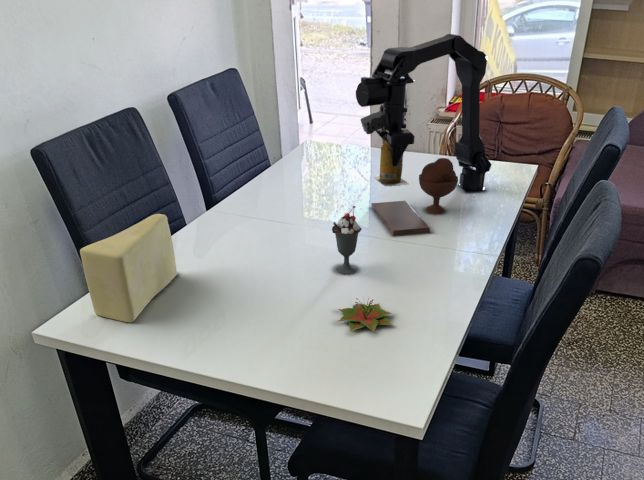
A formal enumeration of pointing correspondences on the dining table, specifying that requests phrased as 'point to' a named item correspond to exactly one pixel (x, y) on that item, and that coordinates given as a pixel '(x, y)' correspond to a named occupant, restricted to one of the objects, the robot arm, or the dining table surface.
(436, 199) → the ice cream bowl
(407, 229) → the walnut board
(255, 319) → the dining table surface
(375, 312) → the lily flower
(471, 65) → the robot arm
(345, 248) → the sundae
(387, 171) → the condiment
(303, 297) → the dining table surface
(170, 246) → the cheese
